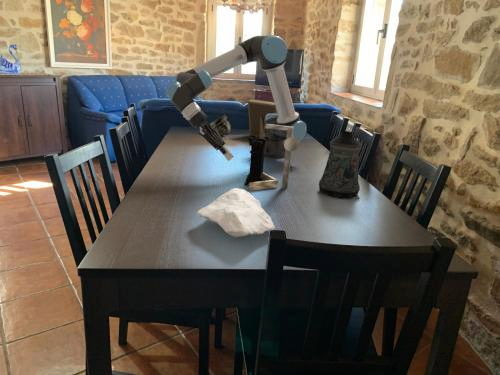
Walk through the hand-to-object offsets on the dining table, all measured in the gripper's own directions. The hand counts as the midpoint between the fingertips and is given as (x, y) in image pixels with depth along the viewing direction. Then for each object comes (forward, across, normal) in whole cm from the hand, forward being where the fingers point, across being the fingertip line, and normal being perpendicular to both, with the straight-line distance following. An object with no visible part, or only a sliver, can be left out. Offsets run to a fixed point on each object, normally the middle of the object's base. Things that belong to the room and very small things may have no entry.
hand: (231, 158), depth 156 cm
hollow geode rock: (-19, -96, -34) cm, 104 cm away
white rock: (+17, +44, +4) cm, 47 cm away
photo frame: (+2, -97, -13) cm, 98 cm away
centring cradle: (+17, -1, +4) cm, 18 cm away
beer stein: (+39, -5, +25) cm, 46 cm away
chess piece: (+15, +1, +1) cm, 15 cm away
